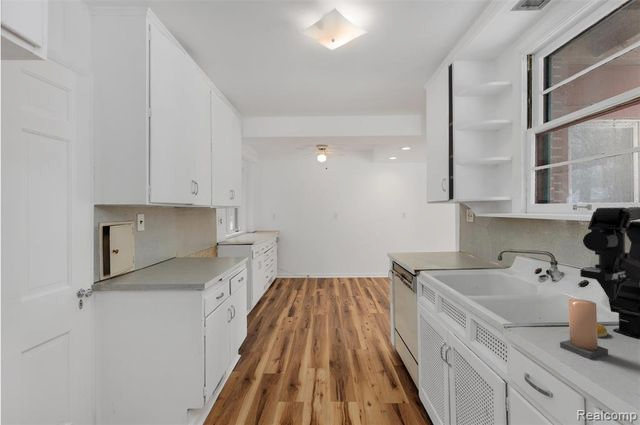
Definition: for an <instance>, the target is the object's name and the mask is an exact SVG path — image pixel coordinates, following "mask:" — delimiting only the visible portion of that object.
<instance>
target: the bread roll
mask: <svg viewBox="0 0 640 425" xmlns="http://www.w3.org/2000/svg"><path fill="white" fill-rule="evenodd" d="M606 336H608V330H607V328H606V327H605V326H604V325H603V324H601V323H599V322H597V337H598V338H602V337H606Z"/></svg>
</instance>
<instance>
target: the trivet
mask: <svg viewBox="0 0 640 425" xmlns="http://www.w3.org/2000/svg"><path fill="white" fill-rule="evenodd" d="M559 347H560V348H562V349H564V350H566V351H568V352H571V353H573V354H576V355H579V356H581V357H583V358H586V359H588V360H593V359H596V358H600V357H605V356H608V355H609V349H608V348H606V347H603V346H600V345H598V349H597V350H586V349H581V348H578V347H575V346H573V345H571V344H570V339H567V340H564V341H560V342H559Z"/></svg>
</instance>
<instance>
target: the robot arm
mask: <svg viewBox="0 0 640 425" xmlns="http://www.w3.org/2000/svg"><path fill="white" fill-rule="evenodd" d="M587 229H588V230H591V231H590V232H588V233H586V234H585V235H584V237H583V239H582V242H583V245H584V247H585V248H586V249H588V250H589V251H592V252H594V255H597V256H598V263H597V264H596V263H595V265H594V267H593V266H589V267H583V268H581V269H580V272H579V274H580V275H579V276H580V277H581V278H587V279H590V280H591V279H592V280H596V282H597V283H598V284H599V286H600V287H601V289H602V290H603V291H604V293H605V295H606V296H607V298H608V304H609V309H610V312H611V313H617V314H618V327H615V328H613V329H612V331H613V332H616V333H620V334H622V335H625V336H629V337H632V338H635V339H640V206H639V207H638V206H637V207H636V206H635V207H634V206H632V207H631V206H630V207H621V206H620V207H597V208H596V209H595V211H593V213H592V215H591V218H590V222H589V224H588V227H587ZM626 237H627V238H628V240H629V241H630V248H629V250H628V252H626Z"/></svg>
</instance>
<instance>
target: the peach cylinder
mask: <svg viewBox="0 0 640 425" xmlns="http://www.w3.org/2000/svg"><path fill="white" fill-rule="evenodd" d="M567 302H568V327H569V328H568V330H569V331H568V332H569V340H570V344H571V345H573V346H575V347H578V348H581V349H586V350H597V349H598V346H599V342H598V341H599V339H598V338H599V337H597V323H598V317H597V315H598V314H597V311H598V310H597V303H596V302H594V301H592V300H591V301H590V300H587V299H582V298H581V299H580V298H579V299H578V298H569V299H568V300H567Z"/></svg>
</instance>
